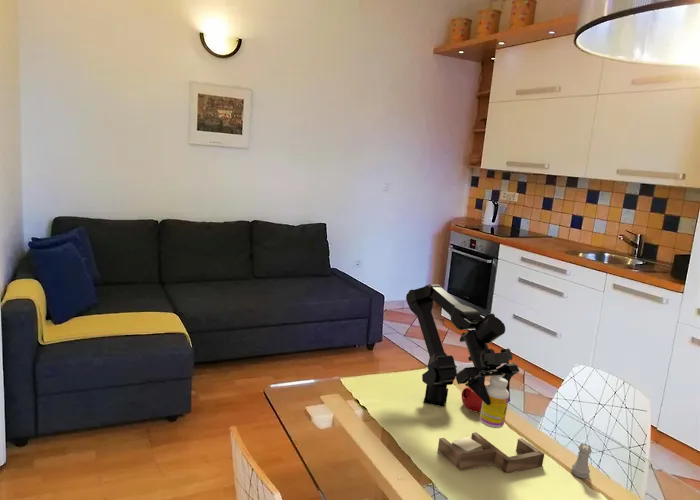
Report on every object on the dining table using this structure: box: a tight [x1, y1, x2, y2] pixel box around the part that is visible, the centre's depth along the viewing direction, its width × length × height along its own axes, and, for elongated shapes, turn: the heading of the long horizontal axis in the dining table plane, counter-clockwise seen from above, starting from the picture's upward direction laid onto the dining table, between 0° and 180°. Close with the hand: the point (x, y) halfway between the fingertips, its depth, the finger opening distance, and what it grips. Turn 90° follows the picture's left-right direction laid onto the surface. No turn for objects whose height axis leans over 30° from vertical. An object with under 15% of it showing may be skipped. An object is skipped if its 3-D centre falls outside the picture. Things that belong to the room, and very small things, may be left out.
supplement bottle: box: [479, 376, 509, 429], centre depth 144 cm, size 7×7×13 cm
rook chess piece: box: [570, 442, 593, 480], centre depth 134 cm, size 4×4×8 cm
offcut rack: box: [437, 432, 545, 475], centre depth 137 cm, size 14×24×4 cm, turn 116°
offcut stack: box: [451, 436, 483, 454], centre depth 137 cm, size 6×7×4 cm
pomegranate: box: [461, 384, 488, 413], centre depth 166 cm, size 10×10×9 cm
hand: (498, 403), depth 143 cm, fingers closed on supplement bottle, 7 cm apart
